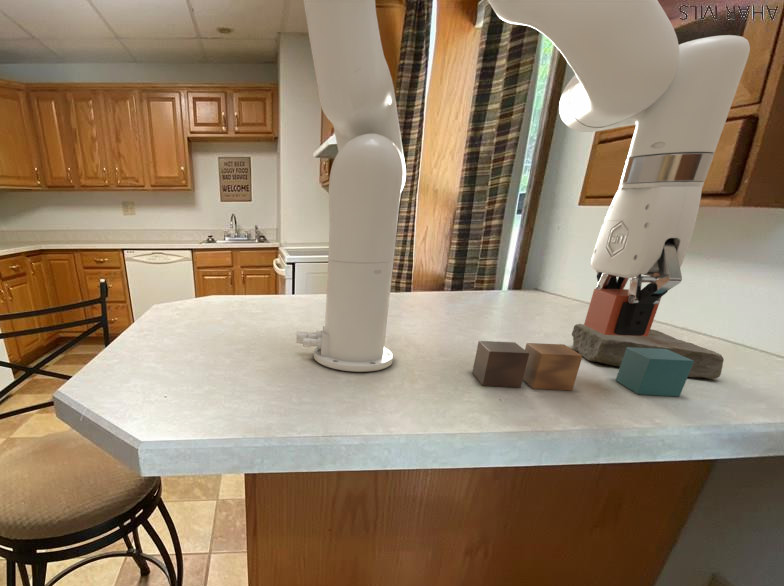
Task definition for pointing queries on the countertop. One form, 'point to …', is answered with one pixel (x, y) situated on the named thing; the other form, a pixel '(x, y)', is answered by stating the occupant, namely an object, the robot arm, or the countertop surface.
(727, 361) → the countertop surface
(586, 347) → the grey stone slab
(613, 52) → the robot arm
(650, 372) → the teal block
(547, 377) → the oak block
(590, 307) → the terracotta block
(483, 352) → the walnut block
